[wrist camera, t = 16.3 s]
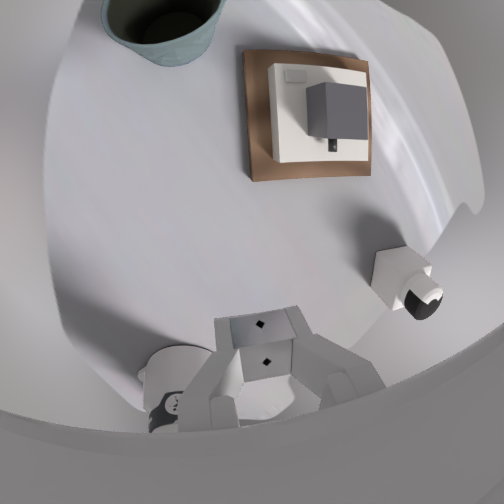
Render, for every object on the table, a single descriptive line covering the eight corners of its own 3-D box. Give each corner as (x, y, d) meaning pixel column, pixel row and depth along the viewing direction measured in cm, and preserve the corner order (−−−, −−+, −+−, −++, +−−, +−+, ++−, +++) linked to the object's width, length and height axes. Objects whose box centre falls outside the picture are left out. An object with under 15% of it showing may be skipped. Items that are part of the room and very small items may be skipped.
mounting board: (364, 173, 34) (370, 175, 33) (250, 179, 32) (253, 181, 31) (362, 62, 27) (367, 61, 26) (242, 53, 25) (244, 49, 24)
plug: (338, 148, 29) (367, 156, 23) (303, 149, 29) (327, 155, 23) (336, 91, 26) (366, 87, 20) (300, 89, 26) (325, 81, 20)
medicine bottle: (400, 279, 44) (439, 318, 34) (369, 287, 44) (407, 331, 33) (407, 244, 41) (453, 280, 31) (375, 250, 40) (420, 291, 30)
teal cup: (234, 24, 23) (251, -22, 13) (187, 88, 26) (178, 66, 16) (164, -5, 19) (150, -54, 9) (117, 58, 22) (77, 30, 12)
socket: (355, 157, 31) (370, 161, 28) (273, 159, 30) (281, 163, 27) (353, 75, 27) (368, 72, 23) (267, 68, 25) (275, 62, 22)
